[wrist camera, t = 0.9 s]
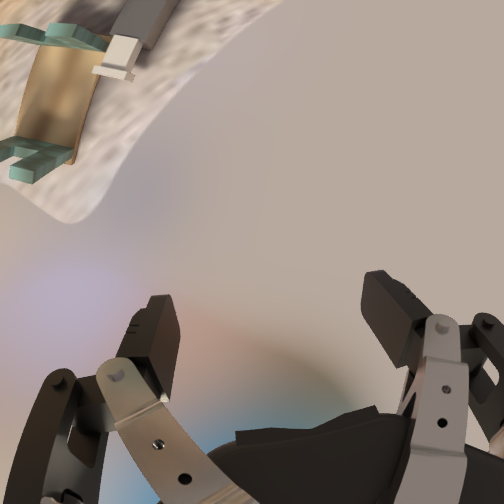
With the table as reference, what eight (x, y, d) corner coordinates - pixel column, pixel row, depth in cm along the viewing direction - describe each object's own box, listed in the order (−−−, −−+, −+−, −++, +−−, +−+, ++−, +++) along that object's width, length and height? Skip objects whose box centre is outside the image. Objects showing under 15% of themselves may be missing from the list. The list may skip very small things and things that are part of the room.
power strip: (107, 76, 23) (89, 72, 18) (176, -46, 15) (175, -70, 10) (137, 83, 24) (125, 80, 19) (206, -40, 17) (211, -63, 12)
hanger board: (15, 149, 23) (-34, 175, 14) (50, 31, 17) (3, 16, 8) (74, 163, 27) (32, 193, 18) (115, 38, 20) (83, 14, 11)
